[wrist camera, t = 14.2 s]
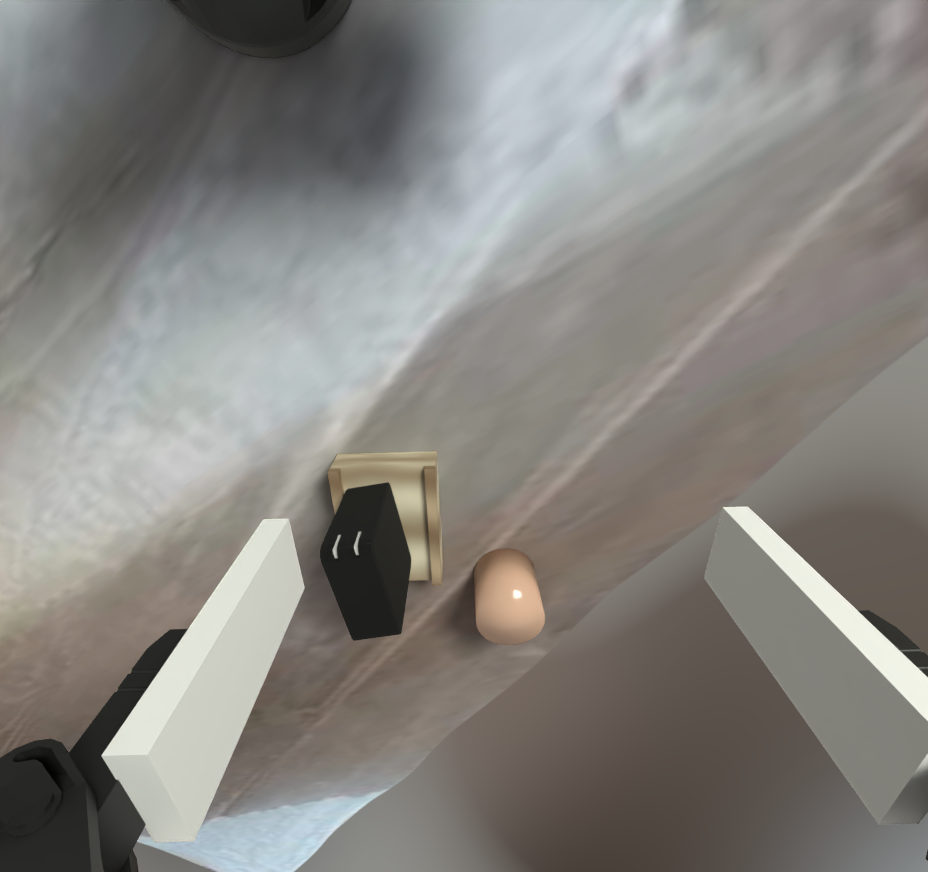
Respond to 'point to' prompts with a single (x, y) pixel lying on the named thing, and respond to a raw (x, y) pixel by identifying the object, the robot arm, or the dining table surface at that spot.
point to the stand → (401, 500)
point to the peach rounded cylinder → (507, 598)
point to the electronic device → (368, 561)
